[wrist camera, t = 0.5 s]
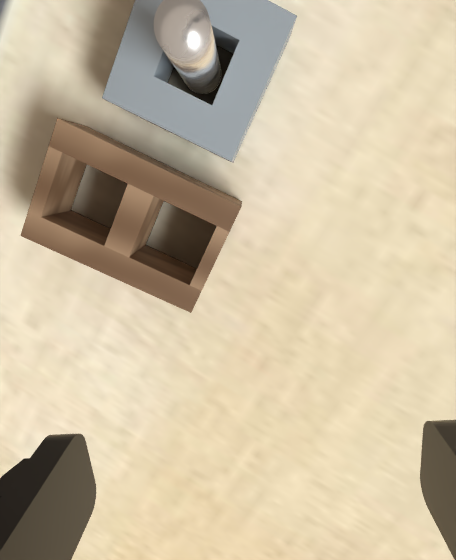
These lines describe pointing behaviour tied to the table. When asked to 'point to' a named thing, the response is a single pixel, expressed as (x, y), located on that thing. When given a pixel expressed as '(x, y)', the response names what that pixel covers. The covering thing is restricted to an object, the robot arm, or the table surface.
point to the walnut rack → (124, 214)
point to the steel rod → (189, 43)
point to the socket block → (236, 83)
